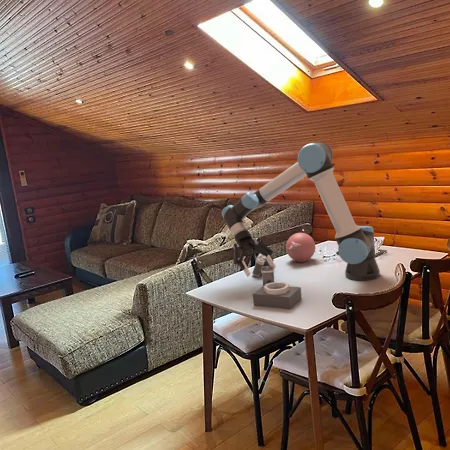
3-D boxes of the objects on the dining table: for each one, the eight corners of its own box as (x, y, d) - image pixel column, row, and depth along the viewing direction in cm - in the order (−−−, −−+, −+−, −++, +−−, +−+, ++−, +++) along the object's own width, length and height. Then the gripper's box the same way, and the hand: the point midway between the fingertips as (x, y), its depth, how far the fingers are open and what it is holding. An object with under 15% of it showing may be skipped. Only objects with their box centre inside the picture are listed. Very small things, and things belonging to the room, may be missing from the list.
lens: (277, 289, 197) (275, 265, 196) (272, 294, 193) (270, 269, 191) (266, 289, 200) (264, 265, 198) (261, 293, 196) (258, 268, 194)
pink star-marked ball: (276, 265, 235) (274, 237, 232) (297, 256, 249) (294, 229, 247) (302, 268, 225) (299, 239, 222) (321, 258, 239) (319, 230, 237)
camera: (250, 275, 220) (256, 256, 217) (254, 264, 235) (260, 246, 232) (267, 281, 219) (274, 262, 216) (270, 270, 234) (277, 252, 231)
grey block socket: (301, 298, 184) (300, 282, 182) (290, 309, 174) (288, 292, 172) (266, 295, 192) (265, 279, 191) (253, 305, 182) (252, 289, 181)
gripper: (260, 234, 217) (281, 269, 207) (215, 244, 205) (235, 282, 195) (265, 224, 211) (287, 260, 201) (219, 234, 200) (240, 273, 189)
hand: (261, 271), depth 198 cm, fingers open, 13 cm apart
